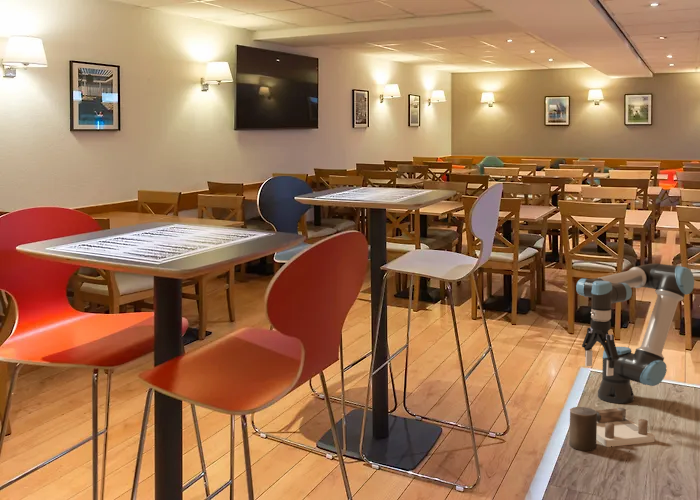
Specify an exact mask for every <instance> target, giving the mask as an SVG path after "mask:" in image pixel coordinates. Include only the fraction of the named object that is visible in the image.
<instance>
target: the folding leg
mask: <svg viewBox="0 0 700 500" xmlns="http://www.w3.org/2000/svg"><path fill="white" fill-rule="evenodd" d="M595 410H596V409H595ZM596 411H597V421H598V422H599V423H602V422H612V421H624V420H626V418H627V417H626V416H627V409H626V408H625V407H617V408H608V409H607V408H605V409H597V410H596Z"/></svg>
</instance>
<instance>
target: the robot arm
mask: <svg viewBox="0 0 700 500" xmlns="http://www.w3.org/2000/svg"><path fill="white" fill-rule="evenodd" d="M575 287H576V293H577V294H578V295H579V296H583V297H584V298H591V307H590V309H591V311H590V314H591V315H590V318H591V319H590V327H587V328H586V334H585V337H584V339H583V342H582V344H581V347H582V348H584V352H585V354H584V357H585V359H584V360H585V361H584V362H585V365H584V366H585V367H592V366H593V348H594V346H595V345H596V343H597V342H598V344H599V343H600V345H601V346H602V347H603V352H602V375H601V376H602V377H601V382H600V385H599V387H598V390H597V397H598V399H599V400H602V401H604V402H608V403H612V404H613V403H614V404H628V403H631V402H634V399H635V398H634V396H635V395H634V391H633V388H632V385H631V382H636V383H639V384H641V385H645V386H650V387H655V386H657V385H659V384H660V383H662V382H663V380H664V379H665V377H666V374H667V370H668V369H667V364H666V362H665V361H664V360H665V357H664V355H663V351H664V347H665V344H666V341H667V338H668V334H669V331H670V330H671V329H670V328H671V326H672V323H673V320H674V316H675V313H676V310H677V308H678V304H679V302H681V301H683V300H684V298H685V295H690V294H691V293H692V292H693V290H694V288H695V277H694V274H693V272H692V270H691V269H689V268H688V267H686V266H681V265H672V264H664V263H648V264H642V265H637V266H633V267H631V268H629V270H627V271H625V270H624V271H621V272H617V273H613V274H609V275H605V276H601V277H596V278H591V279H589V278H580V279H579V280H578V281H577V282H576V285H575ZM632 288H635V289H640V288H645V289H646V288H647V289H653V290H654V292H655V293H656V295H657V296H656V299H655V301H654V305H653V309H652V311H651V314H650V317H649V320H648V324H647V327H646V330H645V333H644V335H643V338H642V341H641V345H640V347H639V346H638V348H637V347H636V349H635V351H634V353H633V352H632V348H631V347H626V346H616V343H615V336H614V334H609V331H610V330H611V324H612V323H611V319H612V304H616V303H623V302H625V301H628V300H630V299H631V298H632V294H633V291H632Z"/></svg>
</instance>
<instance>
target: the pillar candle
mask: <svg viewBox="0 0 700 500" xmlns="http://www.w3.org/2000/svg"><path fill="white" fill-rule="evenodd" d="M596 436H597V411H596V409H594V408H591V407H587V406H573V407H571V408H570V409H569V435H568V437H569V439H568V441H569V442H568V444H569V447H571V448H572V449H574V450H578V451H583V452H589V451H594V450H596V449H597V440H596Z"/></svg>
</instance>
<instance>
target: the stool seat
mask: <svg viewBox="0 0 700 500" xmlns="http://www.w3.org/2000/svg"><path fill="white" fill-rule="evenodd" d="M648 423H649V420H647V419H643V418H641V419H640V418H639V419H638V424H637V423H635V422H633V421H632V420H630V419H629V418H627V417H626V420H624V421H612V422H602V423H599V422H598V421H597V436H596V441H598V443H600V444H602V445H603V446H604V447H606V448H610V447H611V446H612V447H620V446H630V445H638V444H639V445H641V444H648V443H655V442H656V441H655V437H656V435H654V434H653V433H651V432H650V431H648V429H649V428H648V426H649V425H648Z"/></svg>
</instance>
